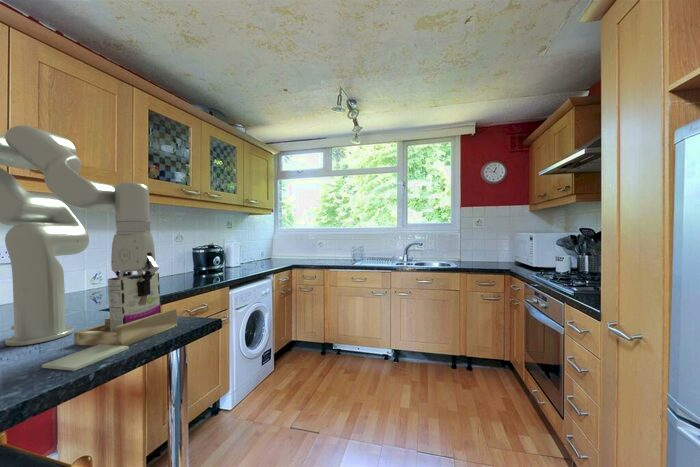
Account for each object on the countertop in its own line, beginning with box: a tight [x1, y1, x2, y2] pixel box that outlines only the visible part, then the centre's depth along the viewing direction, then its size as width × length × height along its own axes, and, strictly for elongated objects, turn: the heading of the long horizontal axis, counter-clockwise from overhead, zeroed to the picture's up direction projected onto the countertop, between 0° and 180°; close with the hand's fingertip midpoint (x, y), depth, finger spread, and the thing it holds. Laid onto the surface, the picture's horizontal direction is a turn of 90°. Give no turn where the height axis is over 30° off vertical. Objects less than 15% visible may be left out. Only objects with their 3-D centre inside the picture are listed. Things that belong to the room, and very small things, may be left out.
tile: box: [41, 344, 130, 372], centre depth 63 cm, size 9×11×1 cm
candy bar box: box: [107, 271, 162, 332], centre depth 78 cm, size 11×5×16 cm, turn 168°
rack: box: [73, 308, 178, 347], centre depth 78 cm, size 15×16×5 cm
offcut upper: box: [104, 316, 110, 328], centre depth 79 cm, size 4×6×2 cm, turn 5°
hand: (135, 294), depth 78 cm, fingers closed on candy bar box, 5 cm apart
